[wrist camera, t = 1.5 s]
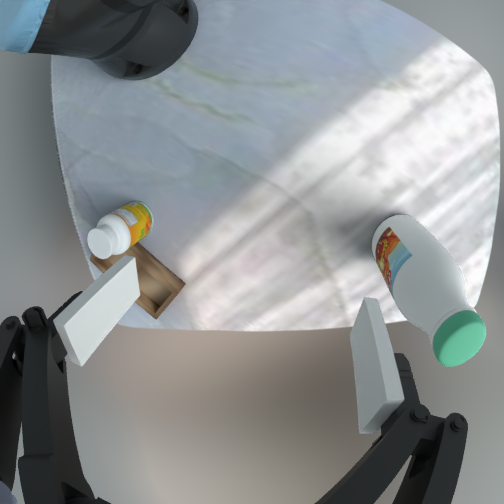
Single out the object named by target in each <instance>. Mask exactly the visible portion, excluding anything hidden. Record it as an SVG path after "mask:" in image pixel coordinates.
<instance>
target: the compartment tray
mask: <svg viewBox="0 0 504 504" xmlns="http://www.w3.org/2000/svg"><path fill="white" fill-rule="evenodd" d="M124 255H127V256H132V257H135V261H136V269H137V276H138V283H139V290H140V296H139V297H138V298H137V300H136V301H135V302H136V303H137V304H138V305H139V306H140V307H141V308H143V309H144V310H145V311H146V312H147V313H149V314H150V315H151V316H152V317H153V318H155V319H157V318H158V317H159V316H160V314H161V313H162V312H163V311H164V310H165V309H166V307H167V306H168V305H169V304H170V303H171V301H172V300H173V299H174V298H175V297H176V296H177V294H178V293H179V292H180V291H181V289H182V288H183V287H184V285H185V284H186V283H184V282H183V281H182V280H181V279H180V278H178V277H177V276H176V275H175V274H174V273H172V272H171V271H170V270H169V269H168V268H167V267H165V266H164V265H163V264H162V263H161V262H160V261H158V260H157V259H156V258H155V257H154V256H153V255H152V254H150V253H149V252H148V251H147V250H146V249H145V248H144V247H143V246H141V245H140V244H139V243H138V242H137V243H135V244H134V245H133V246H132V247H130V248H129V249H128V250H126V251H125V252H124V253H122V254H119V255H113V254H112V255H111V256H110V257H108V258H106V259H100V258H98V257H96V256H95V255H94V254H93V253H92V255H91V258H90V261H91V262H92V263H93V264H94V265H95V266H96V267H97V268H98V269H99V270H100V271H101V272H103V273H105V272H106V271H107V270H108V269H109V268H110V267H111V266H113V265H114V264H115V263H116V262H117V261H118V260H120V259H121V258H122V257H123V256H124Z"/></svg>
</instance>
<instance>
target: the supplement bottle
mask: <svg viewBox="0 0 504 504" xmlns="http://www.w3.org/2000/svg"><path fill="white" fill-rule="evenodd" d="M153 224H154V219H153V215H152V212H151V210H150V209H149V208H148V207H147V206H146V205H145V204H144V203H142V202H138V201H134V202H131V203H128V204H126V205H124V206H122V207H120V208H119V209H117V210H115V211H113V212H111V213H109V214H107V215H105V216H104V217H102V218H101V219H100V220H99V222H98V224H97V226H96V227H95V228H93V229H92V230H91V231H90V232H89V233H88V237H87V241H88V246H89V248H90V250H91V252H92V253H93V254H94V255H95V256H96V257H98V258H100V259H106V258H108V257H110V256H111V255H112V254H113V255H119V254H122V253H124V252H125V251H126V250H128V249H129V248H130V247H132V246H133V245H134V244H135V243H137V242H138V241H139V240H141V239H142V238H143V237H145V236H146V235H147V234H149V233H150V232H151V230H152V228H153Z"/></svg>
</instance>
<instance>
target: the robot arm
mask: <svg viewBox="0 0 504 504" xmlns="http://www.w3.org/2000/svg"><path fill="white" fill-rule="evenodd" d="M197 25H198V12H197V8H196V5H195V3H194V2H193V0H0V50H4V51H11V52H18V53H20V54H26V53H42V54H53V55H62V56H70V57H78V58H85V59H90V60H92V61H93V62H94V63H95V64H97V65H98V66H99V67H100V68H102V69H103V70H104V71H105V72H107V73H108V74H110V75H112V76H114V77H117V78H122V79H128V80H141V79H146V78H149V77H152V76H154V75H157V74H159V73H160V72H162V71H164V70H165V69H167V68H168V67H170V66H171V65H172V64H173V63H175V62H176V61H177V60H178V59H179V58H180V57H181V55H182V54H183V53H184V52H185V51H186V49H187V48H188V46H189V45H190V43H191V41H192V39H193V37H194V35H195V32H196V29H197ZM139 296H140V290H139V283H138V276H137V269H136V261H135V257H132V256H127V255H124V256H123V257H122V258H121V259H120V260H118V261H117V262H116V263H115V264H114V265H113V266H111V267H110V268H109V269H108V270H107V271H106V272H105V273H103V274H102V275H101V276H100V277H99V278H98V279H97V280H96V281H94V282H93V283H92V284H91V285H90V286H89V287H88V288H87V289H86V290H84V291H80V292H78V293H76V294H74V295H73V296H72V297H71V298H70V299H69V300H68V301H67V302H65V303H64V304H63V306H61V307H60V308H59V309H58V310H57V311H56V312H55V313H54V314H53V315H52V316H51V317H49V318H48V319H47V318H46V316H45V313H44V311H43V309H42V308H41V307H38V306H37V307H31V308H29V309H27V310H26V311H25V312H24V313H23V315H22V319H23V321H24V323H25V325H22V324H21V323H20V320H19V318H18V317H16V316H10V317H8V318H6V319H5V320H4V321H3V322H2V323H1V325H0V504H17V500H16V498H15V497H14V495H12V493H11V491H12V488H13V483H14V479H15V470H16V469H15V468H16V459H17V449H18V441H19V434H20V428H21V423H22V431H23V432H22V433H23V446H24V455H23V456H22V457H20V458H19V460H18V468H19V475H20V482H21V487H22V492H23V497H24V501H25V504H111V503H109V502H107V501H105V500H102V499H101V498H99V497H98V498H97V499H95V497H94V494H93V492H92V490H91V487H90V485H89V484H88V483H87V481H86V479H85V477H84V475H83V471H82V467H81V463H80V459H79V455H78V451H77V446H76V441H75V436H74V430H73V424H72V419H71V411H70V404H69V396H68V385H67V372H66V361H65V358H64V357H65V356H66V355H67V354H68V356H69V358H70V360H71V361H72V362H74V363H76V364H77V365H79V366H83V365H84V363H85V362H86V361H87V359H88V358H89V357H90V356H91V354H92V353H93V352H94V351H95V349H96V348H97V347H98V345H99V344H100V343H101V342H102V341H103V339H104V338H105V337H106V336H107V334H108V333H109V332H110V331H111V329H112V328H113V327H114V326H115V325H116V323H117V322H118V321H119V320H120V319H121V317H122V316H123V315H124V314H125V313H126V311H127V310H128V309H129V308H130V307H131V305H132V304H133V303H134V302H135V301H136V300H137V298H138V297H139ZM350 339H351V346H352V354H353V364H354V373H355V382H356V392H357V404H358V417H359V418H358V419H359V433H376V432H377V431H378V430H379V428H380V427H381V434H382V435H381V436H380V437H379V438H378V439H377V440H376V441H375V442H374V443H373V444H372V446H371V448H370V449H369V450H368V451H367V452H366V453H365V454H364V456H363V457H362V458H361V459H360V460H359V461H358V462H357V463H356V464H355V465H354V467H353V468H352V469H351V470H350V471H349V472H348V473H347V474H346V475H345V476H344V477H343V478H342V479H341V480H340V481H339V482H338V483H337V484H336V485H335V486H334V487H333V488H332V489H331V490H330V491H328V492H327V493H326V494H325V495H324V496H323V497H322V498H321V499H320V500H319V501H317V502H316V503H315V504H374V503H375V501H376V500H377V499H378V498H379V497H380V495H381V494H382V493H383V492H384V491H385V489H386V488H387V487H388V485H389V484H390V483H391V482H392V480H393V479H394V478H395V476H396V475H397V473H398V472H399V471H400V469H401V468H402V466H403V465H404V464H405V462H406V460H407V459H408V458H409V456H410V455H412V458H411V460H410V463H409V466H408V469H407V471H406V474H405V476H404V479H403V481H402V483H401V486H400V489H399V490H398V493H397V495H396V497H395V499H394V501H393V503H392V504H451V501H452V498H453V495H454V492H455V488H456V485H457V481H458V477H459V473H460V469H461V464H462V460H463V454H464V450H465V443H466V438H467V431H468V423H467V421H466V419H465V418H464V417H463V416H462V415H461V414H459V413H452V414H450V415H449V416H448V417H447V418H446V419H445V418H441V417H436V416H433V415H430V412H429V410H428V409H427V408H426V407H425V406H424V405H422V404H420V401H419V397H418V393H417V389H416V386H415V382H414V379H413V375H412V372H411V367H410V364H409V361H408V360H407V358H406V357H405V356H404V354H401V353H393V350H392V346H391V343H390V339H389V336H388V332H387V329H386V326H385V322H384V319H383V316H382V313H381V309H380V306H379V303H378V300H377V299H375V298H367V297H364V299H363V302H362V305H361V307H360V310H359V313H358V315H357V318H356V321H355V323H354V326H353V328H352V331H351V333H350ZM13 353H14V354H15V358H14V359H13V358H12V355H13Z"/></svg>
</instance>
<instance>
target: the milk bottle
mask: <svg viewBox="0 0 504 504" xmlns="http://www.w3.org/2000/svg"><path fill="white" fill-rule="evenodd" d="M372 252H373V255H374V258H375V260H376V262H377V264H378V266H379V269H380V271H381V273H382V275H383V277H384V280H385V282H386V284H387V286H388V288H389V290H390V293H391V295H392V297H393V299H394V301H395V303H396V305H397V307H398V308H399V310H400V311H401V313H402V314H403V315H404V317H405V318H406V319H407V320H408V321H410V322H411V323H412V324H414V325H415V326H417V327H419V328H420V329H422V330H424V331H425V332H426V333H428V334H429V336H430V343H431V346H432V347H433V350H434V353H435V356H436V358H437V360H438V361H439V362H440V363H441V364H442V365H444V366H449V367H450V366H456V365H459V364H462V363H463V362H465V361H467V360H469V359H470V358H471V357H472V356H474V355H475V354H476V353H477V351H478V350H479V349H480V347H481V346H482V344H483V342H484V340H485V337H486V327H485V324H484V322H483V321H482V319H481V318H480V316H479V315H478V314H477V312H476V310H475V309H474V308H473V307H471V306H469V304H468V300H467V293H466V284H465V279H464V275H463V273H462V270H461V268H460V266H459V264H458V263H457V261H456V260H455V258H454V257H453V256H452V255H451V254H450V253H449V251H448V250H447V249H446V248H445V247H444V246H443V245H442V244H441V243H440V242H439V241H438V240H437V239H436V238H435V237H434V236H433V235H432V234H431V233H430V232H429V231H428V230H427V229H426V228H425V227H424V226H423V225H422V224H420V223H419V222H418V221H417V220H416V219H414V218H413V217H411V216H408V215H395V216H392V217H389V218H388V219H386V220H385V221H383V222H382V223H381V224H380V225H379V227H378V228H377V229H376V231H375V233H374V236H373V239H372Z"/></svg>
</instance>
